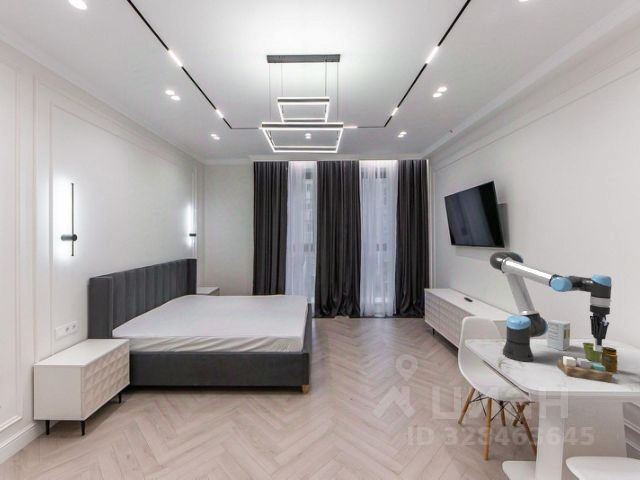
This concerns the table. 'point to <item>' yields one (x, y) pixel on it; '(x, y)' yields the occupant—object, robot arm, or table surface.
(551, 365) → the table surface
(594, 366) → the teal cube
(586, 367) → the grey cube
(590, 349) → the plant pot
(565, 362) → the cream white cube
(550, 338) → the supplement box
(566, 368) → the wooden tray
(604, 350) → the condiment
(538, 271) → the robot arm
